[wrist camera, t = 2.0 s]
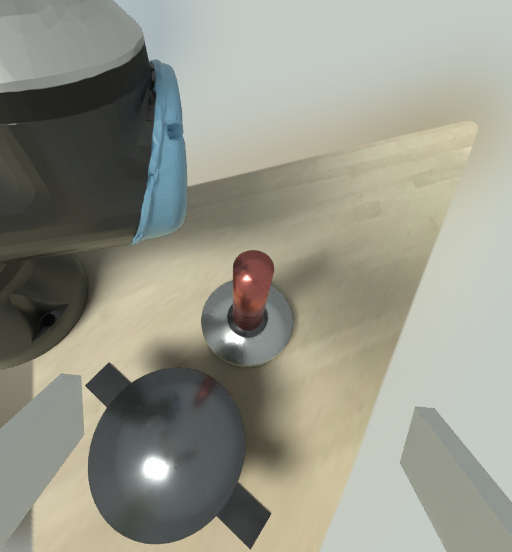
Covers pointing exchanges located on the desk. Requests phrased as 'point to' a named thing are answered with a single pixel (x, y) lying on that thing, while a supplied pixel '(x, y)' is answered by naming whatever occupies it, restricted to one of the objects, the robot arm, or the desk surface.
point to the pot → (169, 457)
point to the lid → (247, 314)
